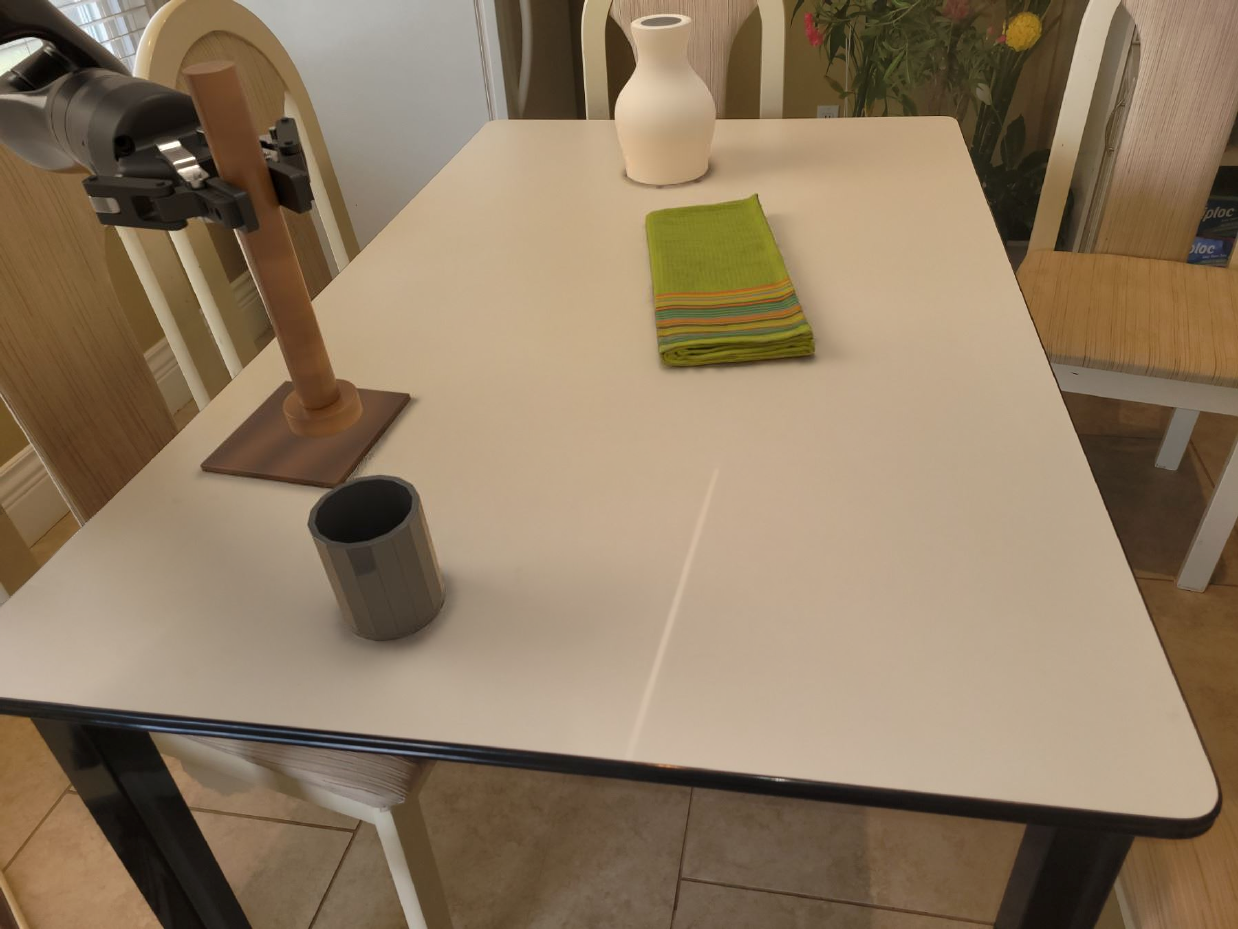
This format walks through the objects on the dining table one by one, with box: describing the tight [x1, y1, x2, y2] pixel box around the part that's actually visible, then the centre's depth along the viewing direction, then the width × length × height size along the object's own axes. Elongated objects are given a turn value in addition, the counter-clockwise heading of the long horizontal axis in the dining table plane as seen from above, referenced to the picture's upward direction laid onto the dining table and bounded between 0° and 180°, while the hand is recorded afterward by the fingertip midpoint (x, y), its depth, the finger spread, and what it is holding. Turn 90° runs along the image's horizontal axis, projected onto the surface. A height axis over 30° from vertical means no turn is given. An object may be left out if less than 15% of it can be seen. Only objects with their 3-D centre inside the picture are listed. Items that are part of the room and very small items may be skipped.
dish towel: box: [644, 192, 816, 367], centre depth 100 cm, size 15×36×3 cm, turn 1°
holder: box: [306, 474, 446, 641], centre depth 63 cm, size 7×7×9 cm
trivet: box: [199, 380, 411, 489], centre depth 83 cm, size 14×14×1 cm
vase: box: [614, 13, 717, 186], centre depth 124 cm, size 14×14×20 cm
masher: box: [182, 59, 363, 438], centre depth 52 cm, size 5×5×22 cm
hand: (276, 203), depth 48 cm, fingers closed on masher, 2 cm apart
